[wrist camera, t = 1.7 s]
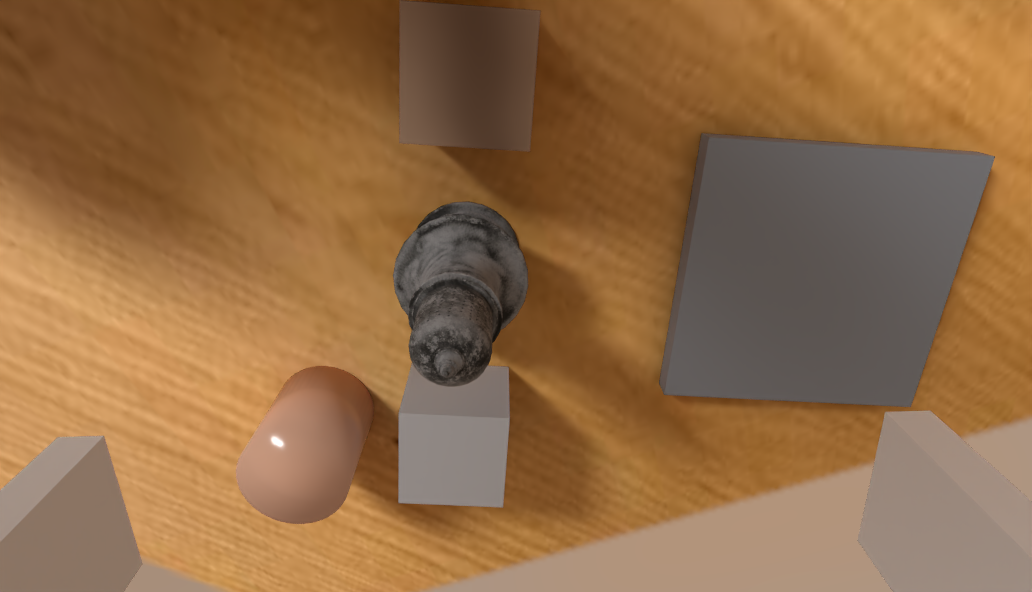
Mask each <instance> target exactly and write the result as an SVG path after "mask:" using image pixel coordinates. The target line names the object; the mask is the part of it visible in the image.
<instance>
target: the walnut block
mask: <svg viewBox="0 0 1032 592" xmlns="http://www.w3.org/2000/svg"><path fill="white" fill-rule="evenodd" d="M539 24H540V10H526V9H512V8H499V7H485V6H472V5H458V4H444V3H431V2H417V1H404V0H400V68H399V143H403V144H419V145H435V146H450V147H466V148H481V149H497V150H513V151H528V152H530V145H531V132H532V118H533V105H534V91H535V78H536V64H537V51H538V37H539Z"/></svg>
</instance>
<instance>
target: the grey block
mask: <svg viewBox="0 0 1032 592" xmlns="http://www.w3.org/2000/svg"><path fill="white" fill-rule="evenodd" d="M509 422H510V406H509V367H505V366H487V367H486V369H485V371H484V372H483V373H482V374H481V375H480V376H479V377H478V378H477V379H476V380H474V381H472V382H470V383H469V384H465V385H462V386H456V387H447V386H441V385H437V384H435V383H432V382H430V381H428V380H427V379H425V378H424V377H423V376H421V375H420V374H419V372H418V371H417V370H416V369H415V367H414V365H413V363H412V365H411V369H410V372H409V376H408V380H407V384H406V387H405V391H404V395H403V399H402V403H401V406H400V410H399V496H398V503H409V504H433V505H457V506H481V507H503V501H504V488H505V475H506V462H507V448H508V435H509Z"/></svg>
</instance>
